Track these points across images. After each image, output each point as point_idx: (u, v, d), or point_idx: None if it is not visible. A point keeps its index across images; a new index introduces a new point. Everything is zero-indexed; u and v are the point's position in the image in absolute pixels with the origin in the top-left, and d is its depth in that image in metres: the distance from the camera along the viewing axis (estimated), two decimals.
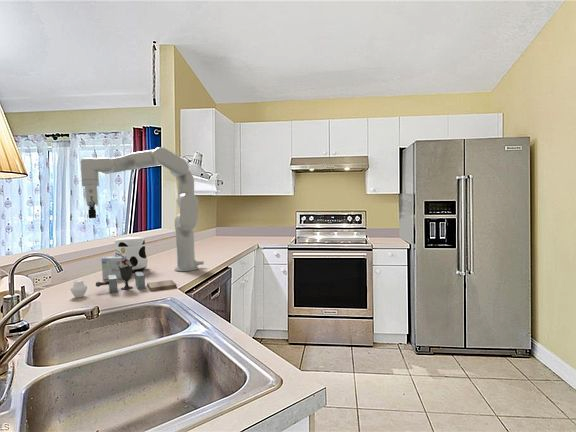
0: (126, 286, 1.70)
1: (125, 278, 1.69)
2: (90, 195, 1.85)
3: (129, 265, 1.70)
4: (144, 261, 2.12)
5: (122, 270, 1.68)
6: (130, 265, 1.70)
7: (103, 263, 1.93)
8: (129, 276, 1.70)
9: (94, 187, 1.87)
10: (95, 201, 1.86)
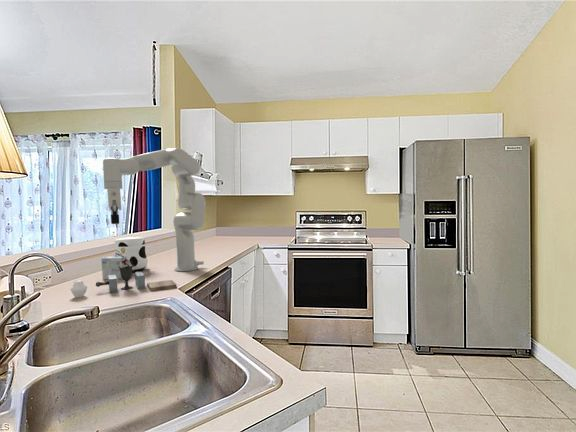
0: (126, 286, 1.70)
1: (125, 278, 1.69)
2: (113, 199, 1.69)
3: (129, 265, 1.70)
4: (144, 261, 2.12)
5: (122, 270, 1.68)
6: (130, 265, 1.70)
7: (103, 263, 1.93)
8: (129, 276, 1.70)
9: (117, 190, 1.70)
10: (118, 205, 1.70)
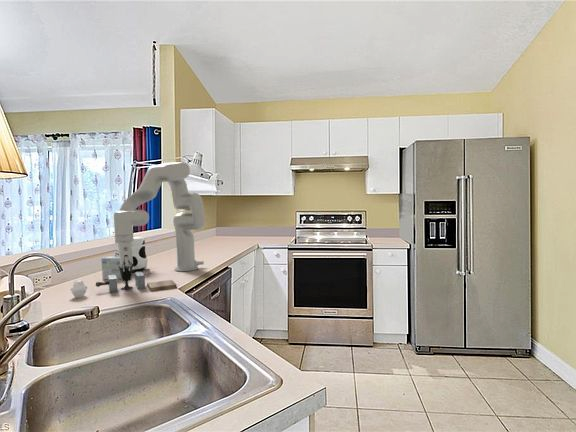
0: (126, 286, 1.70)
1: None
2: (125, 253, 1.66)
3: None
4: (144, 261, 2.12)
5: (122, 270, 1.68)
6: (130, 265, 1.70)
7: (103, 263, 1.93)
8: None
9: (129, 244, 1.67)
10: (130, 260, 1.67)
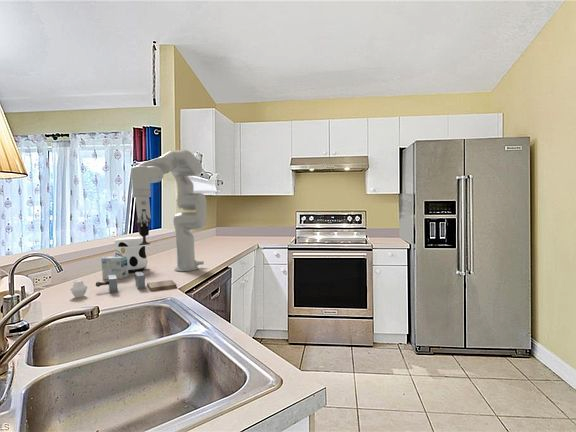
0: (144, 241, 1.70)
1: None
2: (142, 208, 1.65)
3: (147, 220, 1.69)
4: (144, 261, 2.12)
5: (140, 225, 1.68)
6: (148, 220, 1.70)
7: (103, 263, 1.93)
8: None
9: (147, 199, 1.66)
10: (148, 214, 1.66)
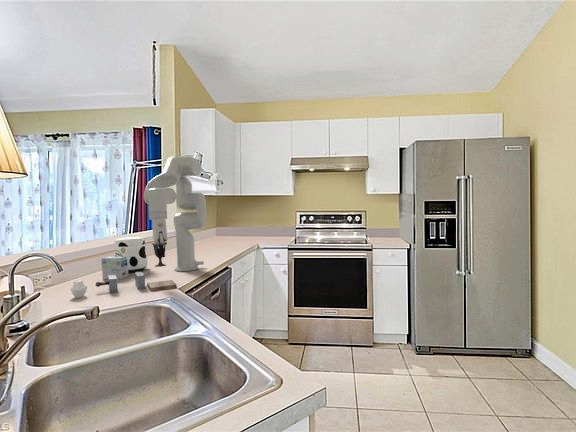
0: (160, 263, 1.71)
1: None
2: (160, 230, 1.66)
3: None
4: (144, 261, 2.12)
5: (156, 247, 1.69)
6: (164, 242, 1.71)
7: (103, 263, 1.93)
8: None
9: (163, 221, 1.67)
10: (165, 236, 1.67)
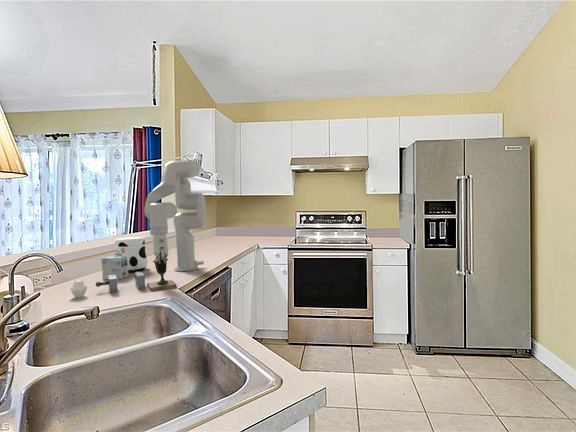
0: (162, 280, 1.72)
1: (161, 272, 1.70)
2: (160, 245, 1.67)
3: None
4: (144, 261, 2.12)
5: (157, 264, 1.69)
6: (165, 259, 1.71)
7: (103, 263, 1.93)
8: None
9: (164, 236, 1.68)
10: (166, 252, 1.68)
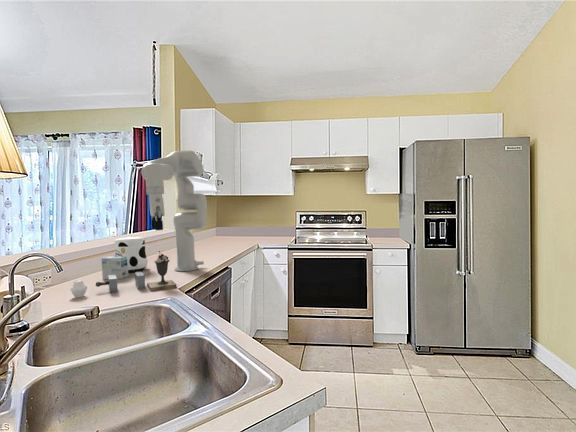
0: (162, 281, 1.72)
1: (161, 273, 1.71)
2: (157, 205, 1.68)
3: (165, 260, 1.71)
4: (144, 261, 2.12)
5: (159, 265, 1.70)
6: (166, 260, 1.72)
7: (103, 263, 1.93)
8: (165, 271, 1.72)
9: (161, 196, 1.69)
10: (162, 211, 1.69)
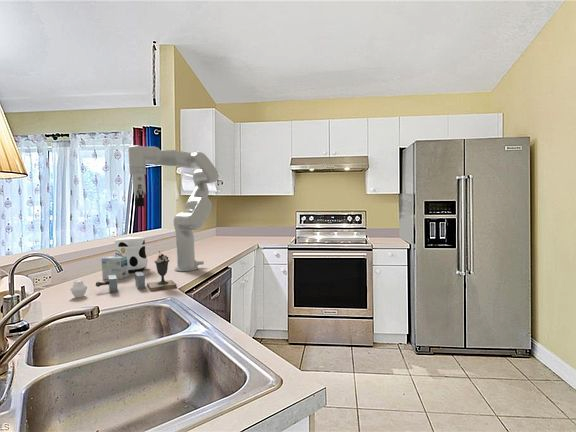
0: (162, 281, 1.72)
1: (161, 273, 1.71)
2: (138, 183, 1.84)
3: (165, 260, 1.71)
4: (144, 261, 2.12)
5: (159, 265, 1.70)
6: (166, 260, 1.72)
7: (103, 263, 1.93)
8: (165, 271, 1.72)
9: (142, 175, 1.85)
10: (143, 189, 1.85)
